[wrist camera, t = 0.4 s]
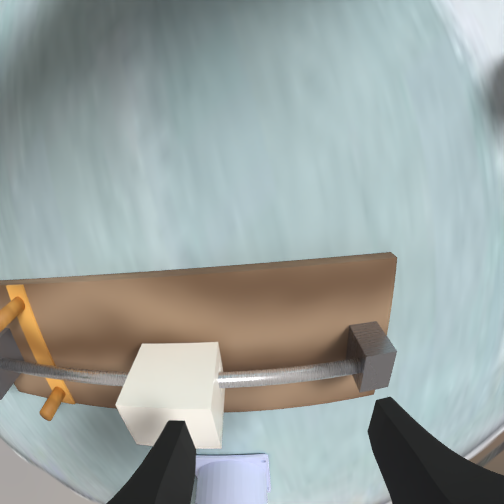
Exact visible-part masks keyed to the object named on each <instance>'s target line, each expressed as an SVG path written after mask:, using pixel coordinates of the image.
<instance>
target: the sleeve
mask: <svg viewBox="0 0 504 504" xmlns="http://www.w3.org/2000/svg"><path fill="white" fill-rule="evenodd" d="M218 372H223V367H222V362H221V356H220V350H219V344H218V342H203V343H165V344H142V345H141V347H140V349H139V352H138V354H137V356H136V358H135V360H134V363H133V365H132V367H131V369H130V372H129V374H128V376H127V379H126V381H125V383H124V385H123V388H122V390H121V393H120V395H119V397H118V400H117V402H116V404H115V405H116V407H117V409H118V411H119V413H120V415H121V417H122V419H123V421H124V422H125V424H126V426H127V428H128V430H129V431H130V433H131V435H132V437H133V439H134V440H135V442H136V444H138V445H147V446H154V444H155V442H156V441H157V439H158V437H159V436H160V434H161V432H162V431H163V429H164V427H165V425H166V423H167V422H168V421H169V420H178V421H185V423H186V425H187V428H188V430H189V433H190V436H191V438H192V441H193V443H194V446H195V448H196V449H222V431H223V414H224V397H225V388H219V383H218Z"/></svg>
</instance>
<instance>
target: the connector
mask: <svg viewBox="0 0 504 504" xmlns="http://www.w3.org/2000/svg"><path fill="white" fill-rule="evenodd" d="M2 358H8V359H13V360H19V361H24V359H23V357H22V355H21V352H20V350H19V348H18V346H17V344H16V342H15V340H14V337H13V335H12V333H11V331H10V328H4V329H3V330H2V331H1V332H0V361H1V359H2ZM20 374H21V373H18V372H13V371H9V370H4V369H2V367H1V365H0V400H1V399H2V398H3V397H4V395H5V394H6V392H7V391H8V390H9V388H10V387H11V386H12V384H13V383H14V382H15V380H16V379H17V378H18V376H19V375H20Z"/></svg>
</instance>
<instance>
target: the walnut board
mask: <svg viewBox="0 0 504 504" xmlns="http://www.w3.org/2000/svg"><path fill="white" fill-rule="evenodd" d="M396 264H397V257H396V256H395V255H394V254H392V253H391V252H387V253H376V254H365V255H353V256H342V257H331V258H319V259H307V260H295V261H283V262H270V263H258V264H245V265H232V266H219V267H206V268H192V269H178V270H164V271H150V272H135V273H120V274H104V275H89V276H72V277H55V278H38V279H20V280H0V332H1V331H2V330H3V329H4V328H10V331H11V333H12V335H13V337H14V340H15V342H16V344H17V346H18V348H19V350H20V352H21V355H22V357H23V359H24V361H25V362H31V363H38V364H45V365H52V366H61V367H69V368H79V369H90V370H102V371H118V372H130V369H131V367H132V365H133V363H134V360H135V358H136V356H137V354H138V352H139V349H140V347H141V345H142V344H165V343H203V342H218V344H219V350H220V356H221V362H222V367H223V372H236V371H252V370H265V369H277V368H287V367H296V366H305V365H313V364H321V363H328V362H335V361H342V360H345V359H346V351H347V342H348V333H349V325H353V324H360V323H367V322H373V321H377V322H378V324H379V325H380V327H381V328H382V330H383V331H384V333H385V334H386V336H387V330H388V324H389V318H390V312H391V305H392V298H393V291H394V283H395V274H396ZM14 384H15V386H16V388H17V389H18V391H20V392H24V393H28V394H32V395H36V396H41V397H46V398H48V399H47V401H46V402H45V404H44V405H43V407H42V409H41V410H40V415H41V416H42V417H43V418H44V419H46V420H48V421H51V420H52V418H53V416H54V414H55V413H56V411H57V409H58V407H59V405H60V404H61V402H64V403H69V404H75V403H78V404H85V405H92V406H99V407H107V408H116V409H117V407H116V405H115V404H116V402H117V400H118V397H119V395H120V393H121V390H122V388H123V387H122V386H109V385H98V384H89V383H80V382H72V381H65V380H58V379H51V378H45V377H39V376H34V375H28V374H23V373H21V374H20V375H19V376H18V378H17V379H16V380H15V382H14ZM374 392H375V390H370V391H366V392H360V393H359V390H358V388H357V385H356V383H355V381H354V378H353V376H352V375H347V376H340V377H334V378H327V379H320V380H313V381H305V382H297V383H288V384H277V385H266V386H253V387H236V388H225V397H224V412H246V411H261V410H274V409H284V408H293V407H302V406H310V405H317V404H324V403H330V402H336V401H342V400H348V399H353V398H358V397H363V396H368V395H373V394H374Z"/></svg>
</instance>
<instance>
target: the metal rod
mask: <svg viewBox="0 0 504 504" xmlns="http://www.w3.org/2000/svg"><path fill="white" fill-rule="evenodd" d="M396 353H397V351H396V349H395V348H394V346H393V345H392V343H391V342H390V340H389V339H388V337H387V336H386V334H385V333H384V331H383V330H382V328H381V327H380V325H379V324H378V322H377V321H373V322H367V323H360V324H353V325H349V333H348V342H347V351H346V359H345V360H342V361H335V362H328V363H321V364H313V365H305V366H296V367H287V368H277V369H265V370H252V371H236V372H218V383H219V388H236V387H253V386H266V385H277V384H288V383H297V382H305V381H313V380H320V379H327V378H334V377H340V376H347V375H352V376H353V378H354V381H355V383H356V385H357V388H358V390H359V393H360V392H366V391H370V390H375V389H380V388H384V387H388V385H389V381H390V377H391V373H392V369H393V365H394V361H395V357H396ZM0 365H1V367H2V369H4V370H9V371H13V372H18V373H23V374H28V375H34V376H39V377H45V378H51V379H58V380H65V381H72V382H80V383H89V384H98V385H109V386H122V387H123V385H124V383H125V381H126V379H127V376H128V374H129V372H118V371H102V370H90V369H79V368H69V367H61V366H52V365H45V364H38V363H31V362H25V361H19V360H13V359H8V358H2V359H1V361H0Z"/></svg>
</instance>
